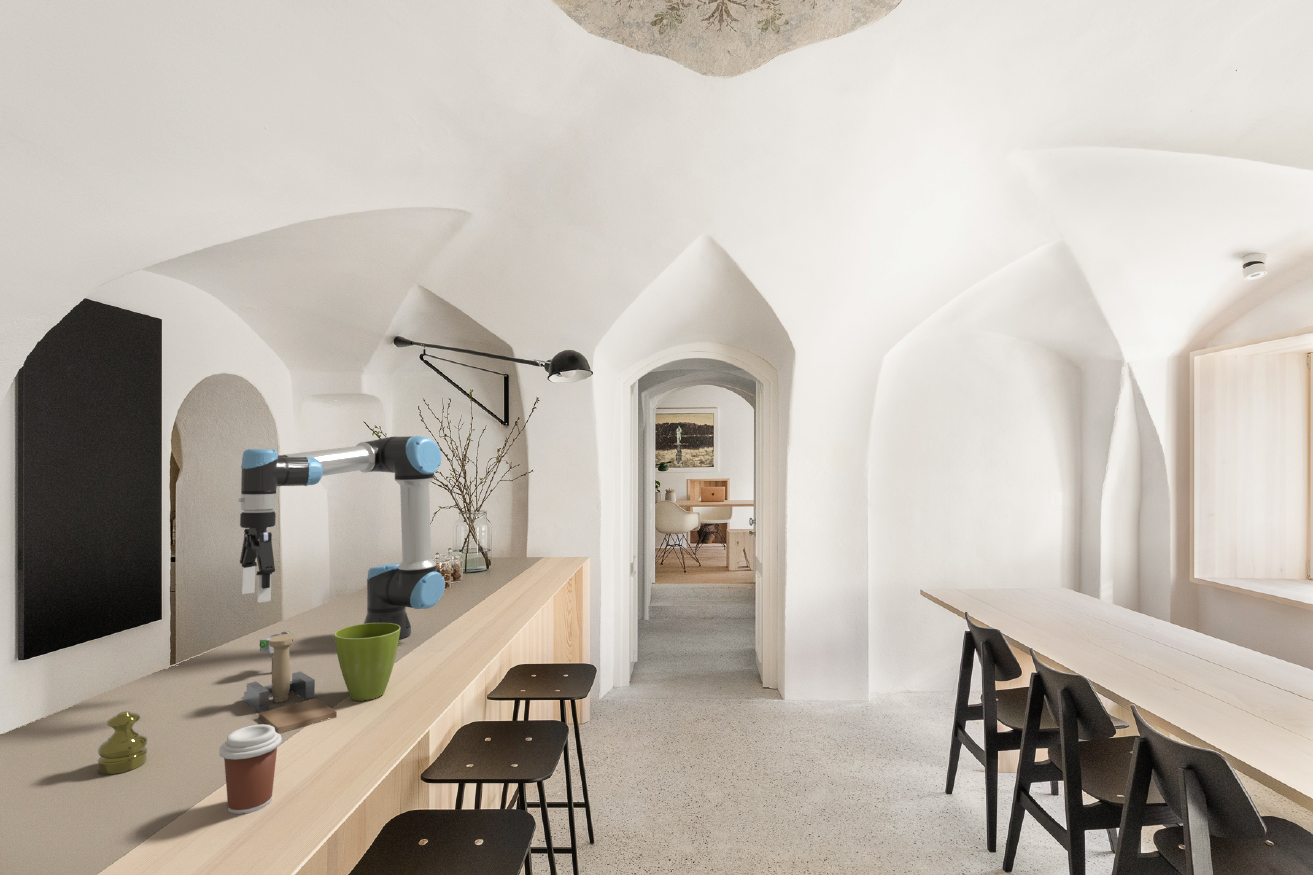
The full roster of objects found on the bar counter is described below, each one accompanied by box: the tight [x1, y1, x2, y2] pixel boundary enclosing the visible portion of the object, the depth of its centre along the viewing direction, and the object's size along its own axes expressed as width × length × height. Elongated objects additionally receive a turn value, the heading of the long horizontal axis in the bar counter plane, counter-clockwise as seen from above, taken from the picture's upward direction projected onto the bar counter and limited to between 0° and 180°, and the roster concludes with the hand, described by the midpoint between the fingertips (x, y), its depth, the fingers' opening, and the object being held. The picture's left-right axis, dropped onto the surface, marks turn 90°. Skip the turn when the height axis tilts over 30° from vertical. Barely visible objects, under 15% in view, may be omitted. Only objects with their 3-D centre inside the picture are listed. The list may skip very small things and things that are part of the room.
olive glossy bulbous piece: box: [97, 710, 149, 775], centre depth 126 cm, size 7×7×10 cm
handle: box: [269, 633, 295, 703], centre depth 159 cm, size 5×6×15 cm
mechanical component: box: [259, 630, 291, 670], centre depth 179 cm, size 3×10×10 cm, turn 174°
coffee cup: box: [219, 723, 283, 815], centre depth 112 cm, size 9×9×12 cm
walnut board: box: [258, 697, 338, 734], centre depth 148 cm, size 12×12×1 cm
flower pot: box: [333, 623, 400, 702], centre depth 162 cm, size 15×15×16 cm
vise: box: [243, 671, 316, 713], centre depth 160 cm, size 12×13×4 cm
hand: (255, 597), depth 163 cm, fingers open, 13 cm apart
